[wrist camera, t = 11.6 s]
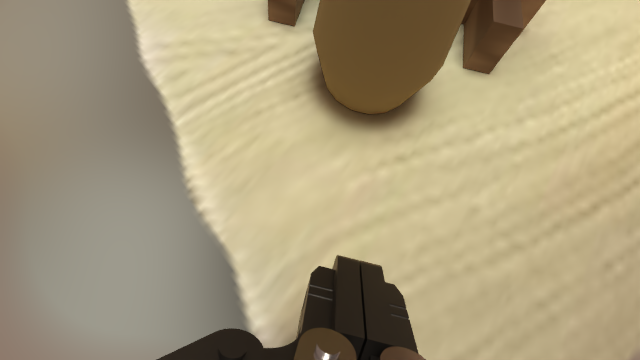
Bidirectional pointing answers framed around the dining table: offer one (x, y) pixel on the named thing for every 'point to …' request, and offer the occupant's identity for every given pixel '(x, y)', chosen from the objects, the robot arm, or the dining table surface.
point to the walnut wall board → (479, 23)
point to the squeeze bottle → (383, 48)
